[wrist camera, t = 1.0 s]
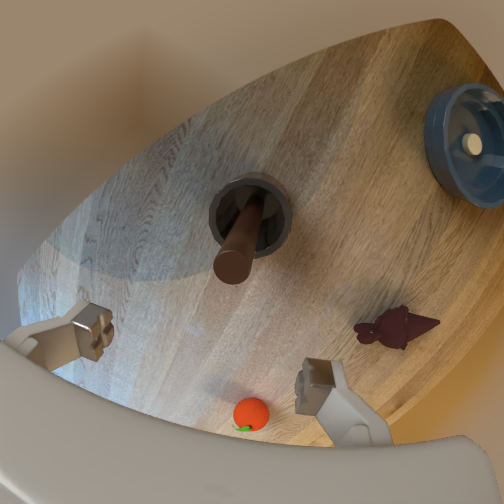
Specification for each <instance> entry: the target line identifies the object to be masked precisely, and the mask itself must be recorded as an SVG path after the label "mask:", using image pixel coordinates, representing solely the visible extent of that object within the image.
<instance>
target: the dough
mask: <svg viewBox="0 0 504 504" xmlns="http://www.w3.org/2000/svg"><path fill="white" fill-rule="evenodd" d="M462 146H463V149H464V150H465V152H466V153H468V154H471V155H478V154H479V153H480V152H481V150H482V143H481V140H480V138H479V137H478V136H477V135H476V134H465V135H464V136H463V139H462Z"/></svg>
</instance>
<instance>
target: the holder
mask: <svg viewBox="0 0 504 504" xmlns="http://www.w3.org/2000/svg"><path fill="white" fill-rule="evenodd" d="M252 197H258V198H260V199H261V200H262V201H263V203H264V210H263V215H262V220H261V224H260V229H259V234H258V238H257V243H256V247H255V252H254V257H253V259H257V258H260V257H264V256H268V255H271V254H272V253H273V252H275V251H276V250H277V249H278V248H280V247H281V246H282V245H283V244H284V242H285V240H286V239H287V237H288V235H289V233H290V231H291V224H292V211H291V207H290V203H289V200H288V196H287V193H286V190H285V189H284V188H283V186H282V185H281V184H280V183H279V182H278V180H276V179H275V178H273V177H272V176H270V175H267V174H265V173H260V172H249V173H246V174H243V175H240V176H238V177H236V178H235V179H233V180H232V181H230V182H229V183H227V184H226V185H225V186H224V187H223V188H222V189H221V190H219V191H218V192H217V193H216V195H215V197H214V199H213V201H212V203H211V205H210V207H209V226H210V229H211V232H212V234H213V237H214V239H215V240H216V241H217V242H218V243H219V244H220V246H221V247H222V245H223V243H224V241H225V240H226V238H227V236H228V234H229V232H230V231H231V229H232V227H233V225H234V223H235V222H236V220H237V218H238V216H239V215H240V213H241V211H242V209H243V207H244V206H245V204H246V202H247V201H248V200H249V199H250V198H252Z"/></svg>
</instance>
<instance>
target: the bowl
mask: <svg viewBox="0 0 504 504" xmlns="http://www.w3.org/2000/svg"><path fill="white" fill-rule="evenodd" d="M465 134H476V135H477V136H478V137H479V138H480V140H481V143H482V150H481V152H480V153H479V154H478V155H471V154H468V153H466V152H465V150H464V149H463V146H462V139H463V136H464V135H465ZM424 135H425V149H426V152H427V156H428V160H429V163H430V166H431V169H432V170H433V172H434V174H435V176H436V178H437V180H438V182H439V183H440V184H441V185H442V186H443V187H444V188H445V189H446V190H447V191H448V192H449V194H450V195H452V196H454V197H456V198H458V199H460V200H462V201H465V202H468V203H470V204H473V205H475V206H478V207H480V208H491V209H494V208H496V207H498V206H500V205H502V204H504V99H503V98H502V97H501V96H500V95H499V94H498V93H496V92H495V91H494V90H493V89H491V88H490V87H488V86H485V85H483V84H480V83H469V84H463V85H459V86H455V87H451V88H448V89H445V90H444V91H442V92H441V93H440V94H438V95H437V96H436V97H435V98H434V99H433V101H432V103H431V105H430V107H429V109H428V111H427V115H426V121H425V126H424Z"/></svg>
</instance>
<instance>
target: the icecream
mask: <svg viewBox="0 0 504 504" xmlns="http://www.w3.org/2000/svg"><path fill="white" fill-rule="evenodd" d="M408 311H409V310H408V307H407V306H403V305H401V306H400V307H399V308H395V309H388V310H387V311H386V312H385V313H383V314H382V315H380V316H378V318H377V319H376V320H375V324H373V323H361V324H357V325H355V326H354V331H355V332H357V333H359V334H358V335H357V339H358V341H359V342H360V343H362V344H371V343H373V342H374V341H377V340H379V342H380V343H382V344H383V345H384V346H387V347H389V348H394V349H399V348H401V349H402V350H405V348H406V346H407V343H408V342H409V341H411V340H413V339H415V338H417V337H418V336H420V335H422V334H424V333H425V332H427V331H429V330H430V329H432V328H434V327H435V326H437V325H439V324H440V320H436V319H432V318H428V317H424V316H420V315H416V314H412V313H408Z"/></svg>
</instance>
